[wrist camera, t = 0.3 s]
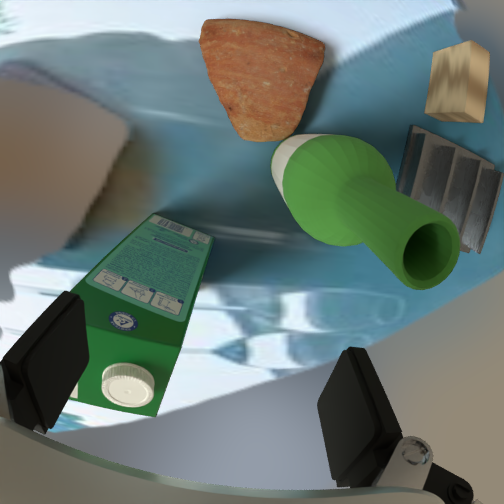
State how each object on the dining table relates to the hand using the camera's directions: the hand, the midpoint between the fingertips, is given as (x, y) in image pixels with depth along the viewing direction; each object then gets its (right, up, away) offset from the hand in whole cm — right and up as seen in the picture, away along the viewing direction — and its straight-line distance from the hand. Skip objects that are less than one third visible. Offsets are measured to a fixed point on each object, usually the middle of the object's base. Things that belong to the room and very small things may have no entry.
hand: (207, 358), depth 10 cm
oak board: (+28, +27, +23) cm, 45 cm away
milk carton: (-9, +3, +32) cm, 33 cm away
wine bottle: (+8, +14, +27) cm, 32 cm away
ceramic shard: (+2, +24, +24) cm, 34 cm away
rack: (+30, +12, +28) cm, 43 cm away
